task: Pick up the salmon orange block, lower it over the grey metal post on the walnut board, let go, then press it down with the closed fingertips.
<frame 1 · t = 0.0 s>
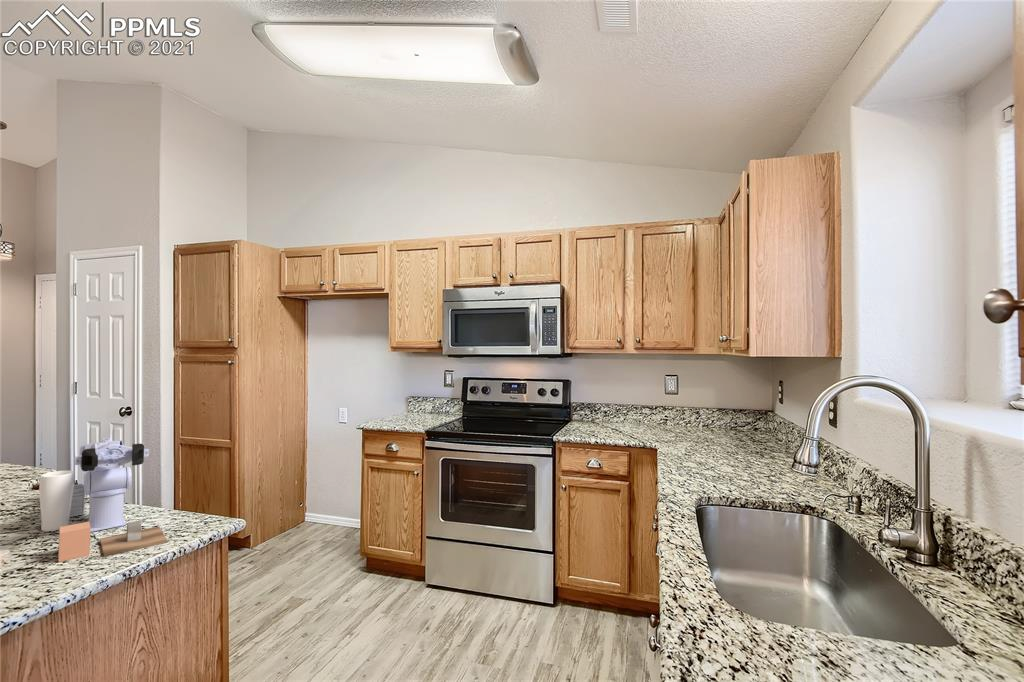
hand: (116, 459, 114), 22 cm above the worktop, tool horizontal, fingers open, 7 cm apart
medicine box: (64, 518, 132), on the worktop
salmon orange block: (73, 555, 108), on the worktop
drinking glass: (54, 529, 123), on the worktop
post board: (133, 542, 116), on the worktop
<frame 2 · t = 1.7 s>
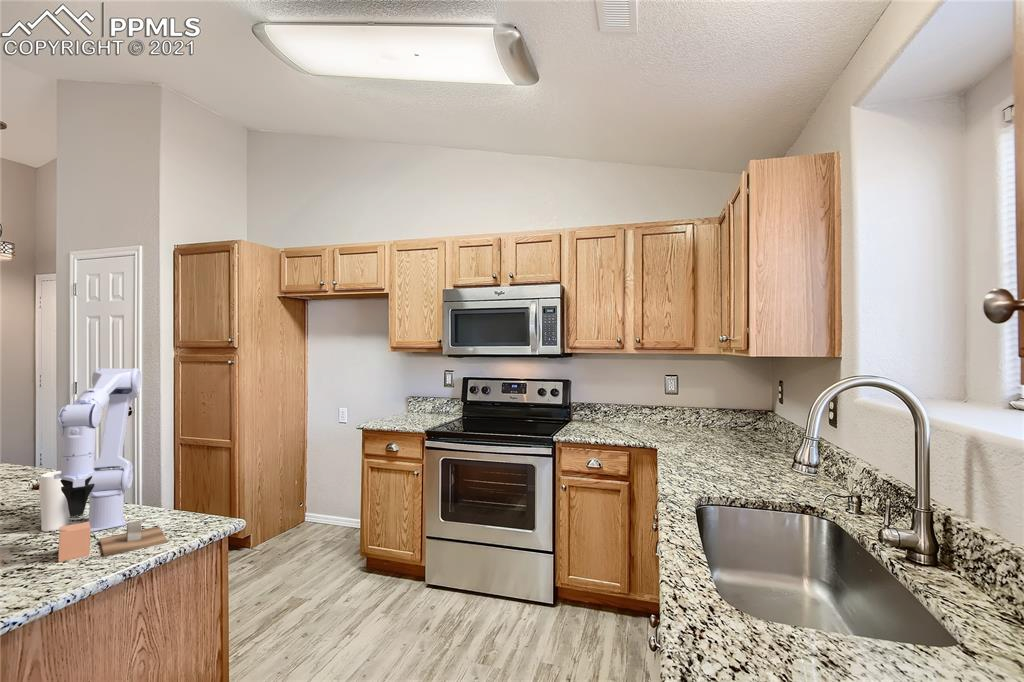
hand: (75, 511, 108), 10 cm above the worktop, tool pointing down, fingers open, 7 cm apart
nothing on the worktop moved.
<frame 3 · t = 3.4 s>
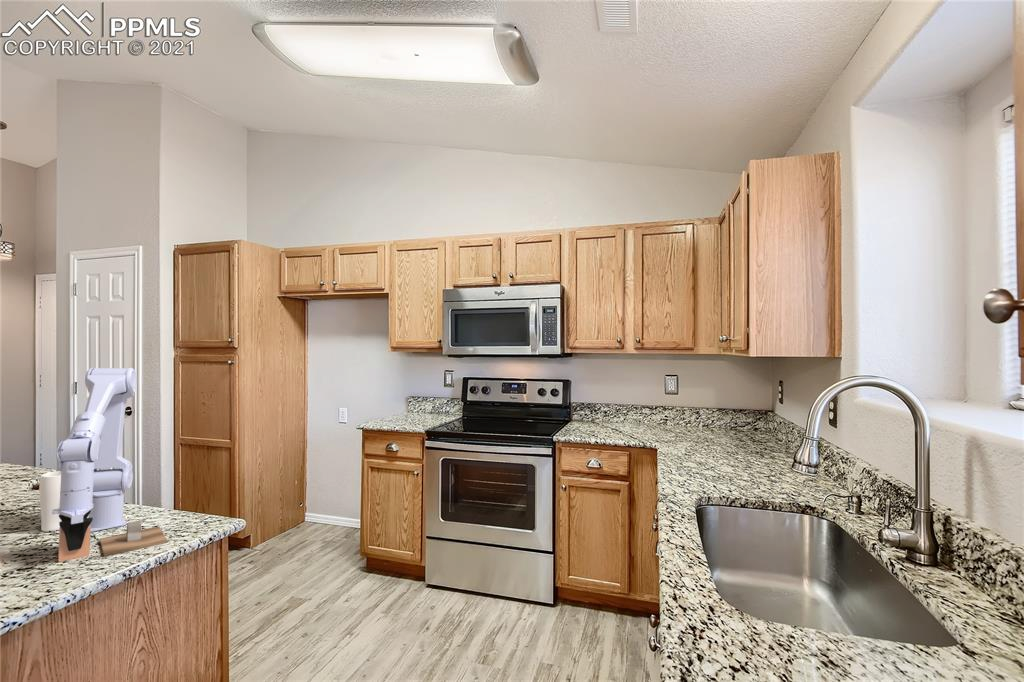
hand: (74, 545, 108), 2 cm above the worktop, tool pointing down, fingers closed on salmon orange block, 5 cm apart
salmon orange block: (73, 555, 108), on the worktop, touching gripper
everything else where it was.
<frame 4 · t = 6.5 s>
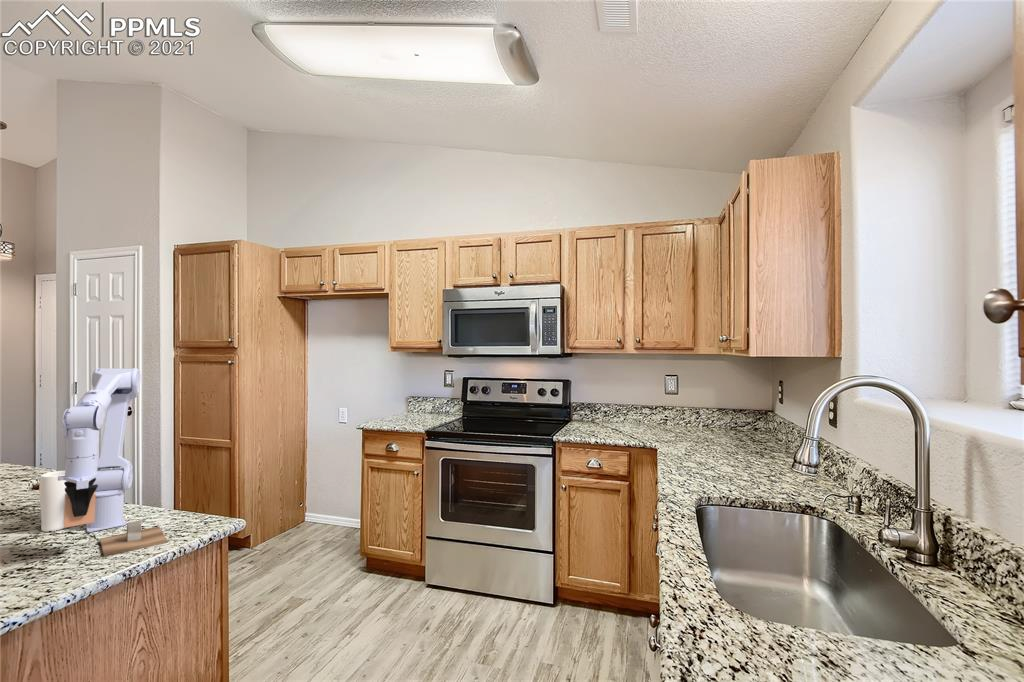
hand: (79, 512, 109), 10 cm above the worktop, tool pointing down, fingers closed on salmon orange block, 5 cm apart
salmon orange block: (79, 521, 109), point 8 cm above the worktop, touching gripper
everything else where it was.
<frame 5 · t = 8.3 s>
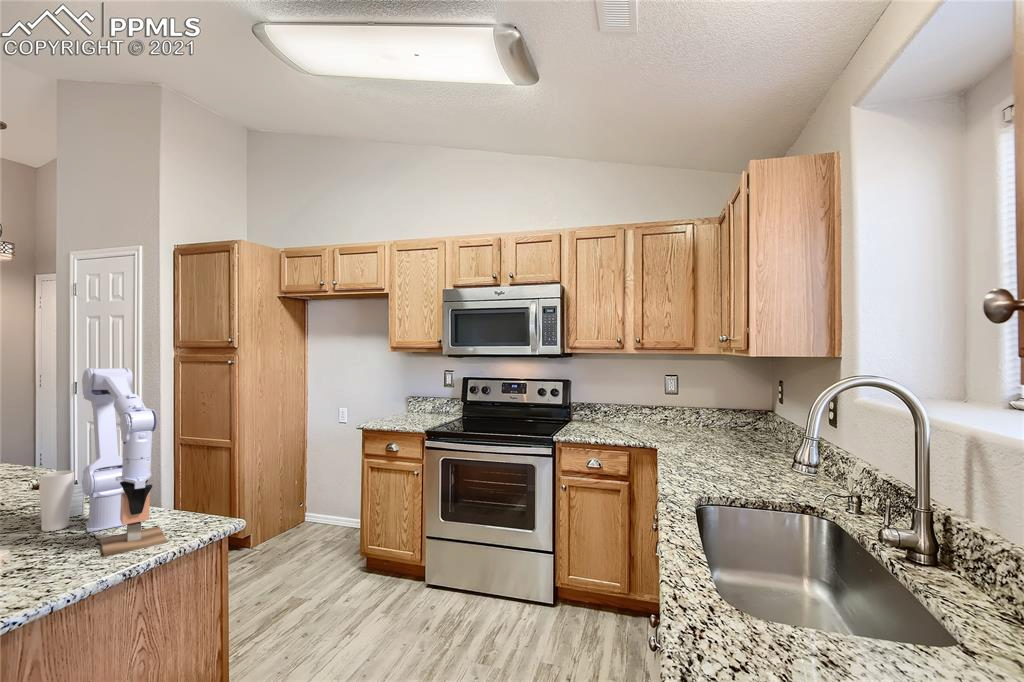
hand: (134, 510, 116), 8 cm above the worktop, tool pointing down, fingers closed on salmon orange block, 5 cm apart
salmon orange block: (134, 519, 116), point 6 cm above the worktop, touching gripper
everything else where it was.
when the fingers open (4 cm above the worktop, at t = 9.6 s): salmon orange block drops 1 cm, resting on post board.
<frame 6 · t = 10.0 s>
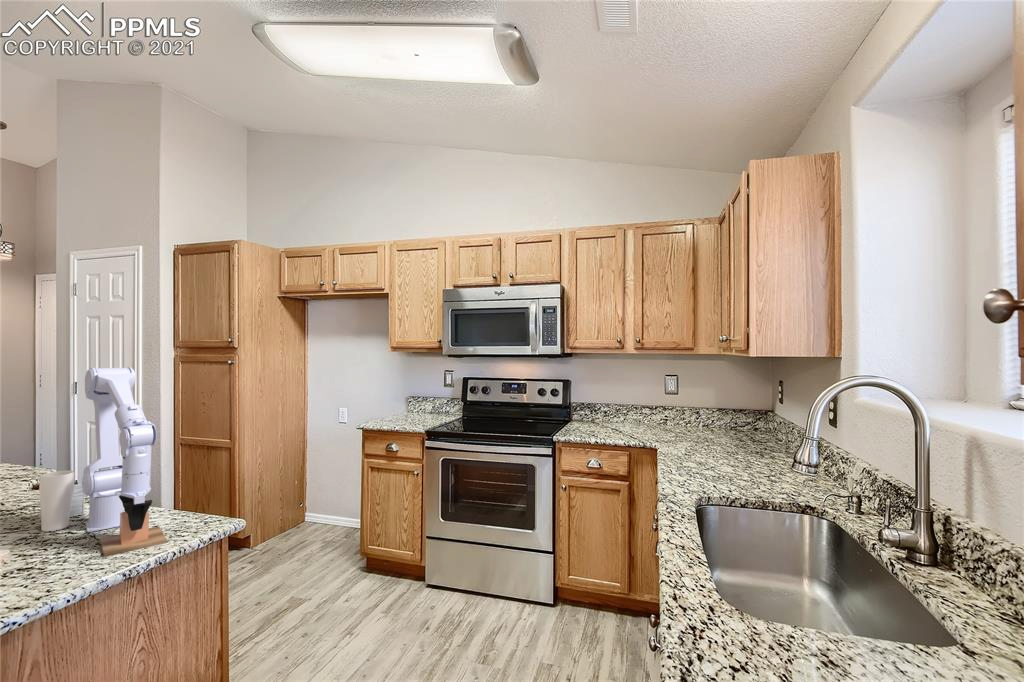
hand: (134, 525, 116), 4 cm above the worktop, tool pointing down, fingers open, 7 cm apart
salmon orange block: (133, 538, 116), point 1 cm above the worktop, touching post board
everything else where it was.
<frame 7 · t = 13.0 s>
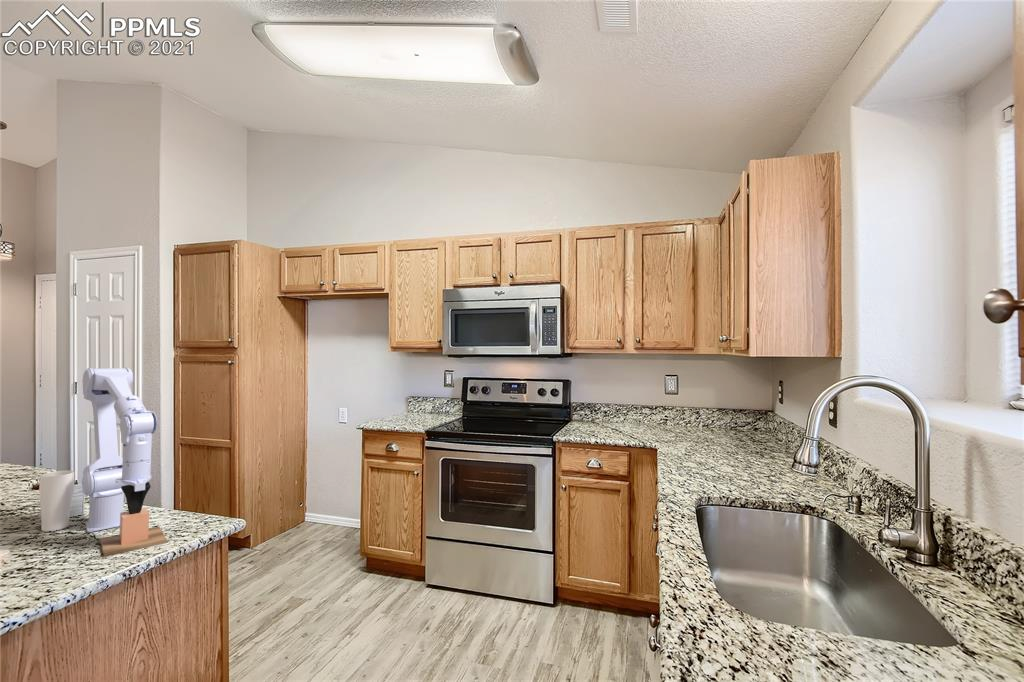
hand: (134, 513, 116), 7 cm above the worktop, tool pointing down, fingers closed, pressing on salmon orange block
salmon orange block: (133, 538, 116), point 1 cm above the worktop, touching gripper, post board
everything else where it was.
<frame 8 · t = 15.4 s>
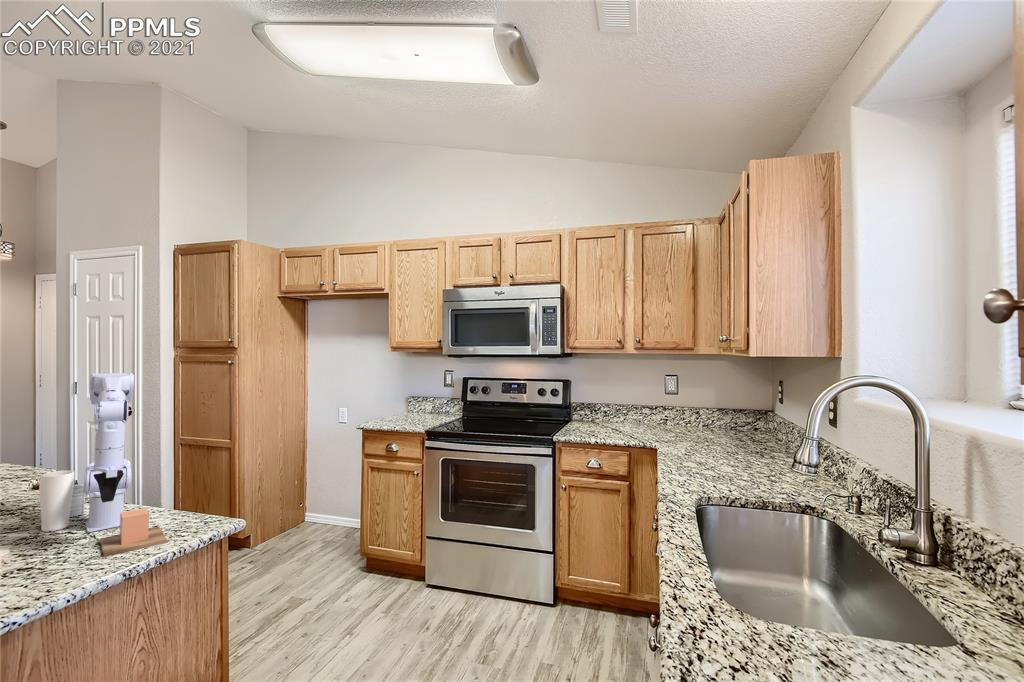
hand: (107, 501, 116), 10 cm above the worktop, tool pointing down, fingers closed
salmon orange block: (133, 538, 116), point 1 cm above the worktop, touching post board
everything else where it was.
at the end: salmon orange block 0.0 cm from the post board (horizontally); salmon orange block point 0.8 cm above the worktop; the gripper is holding nothing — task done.
